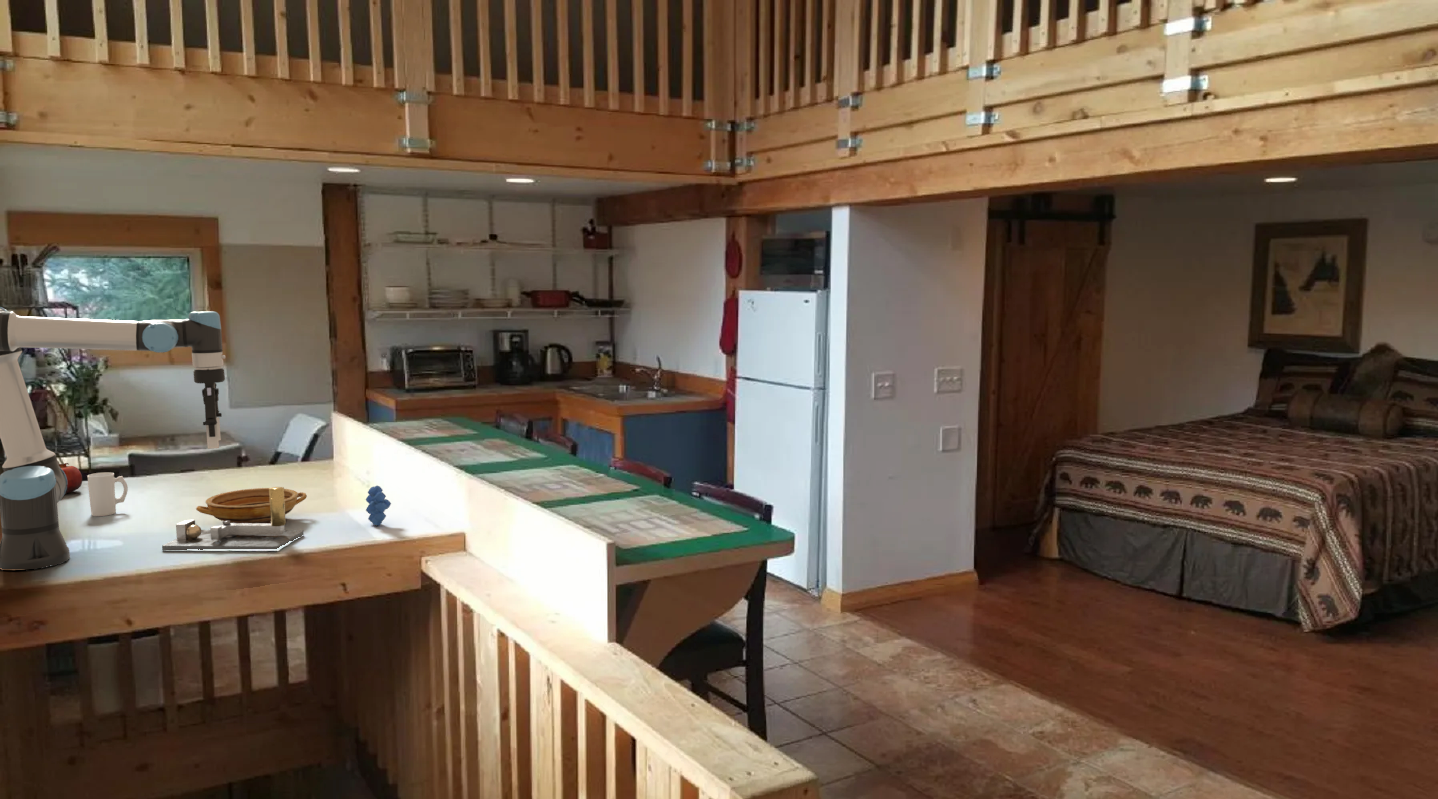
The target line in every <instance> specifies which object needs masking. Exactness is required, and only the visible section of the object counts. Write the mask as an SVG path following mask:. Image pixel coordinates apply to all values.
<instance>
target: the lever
mask: <svg viewBox="0 0 1438 799" xmlns="http://www.w3.org/2000/svg"><path fill="white" fill-rule="evenodd" d="M268 488H269V496H270V514H271V523H230V521H222V524H220V525H213V526H211V527H210V528H209V530H210V531H211V540H219V539H221V538H223V537H225V536H227V535H281V534H283V533H285V525H287V524H286V515H285V501H284V489H285V487H284V486H273V487H268Z"/></svg>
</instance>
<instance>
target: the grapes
mask: <svg viewBox="0 0 1438 799" xmlns="http://www.w3.org/2000/svg"><path fill="white" fill-rule="evenodd" d="M383 491H384V490H383V488H382V487H381V486H379V485H375V486H371V487H370V488H369V489H368V491H367V494H368V495H367V497H366V499H365V501H366V502H367V503H368V506H367V507H366V509H365V511H366V513H367V514H369V516H368V518H367V519H368V521H369V522H370V523H372V524H373V525H374V526H375V525H379V526H381V524H382V523H383V522H384V520H385V519H386V517H387V515H386V513H385V512H386V510H388V509H389V508H390V506H391V505H392V503H391V501H390V500H388V499H387V498H386V497H387V496H386V494H385V493H384V492H383Z"/></svg>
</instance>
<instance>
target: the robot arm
mask: <svg viewBox="0 0 1438 799" xmlns="http://www.w3.org/2000/svg"><path fill="white" fill-rule="evenodd" d="M22 348H28V349H29V348H30V349H32V348H36V349H37V348H39V349H67V350H68V349H73V350H105V351H106V350H107V351H111V350H112V351H141V352H154V353H167V352H169V351H171V350H173V349H174V348H191V358H192V359H191V360H192V362H191V363H192V367H193V368H195V369H193V371H192V372H193V381H194V383H196V384H204V388H202V389H201V395H202V398H203V399H202V402H203V405H204V413H205V414H204V415H205V420H204V421H203V422H202V426H205V430H206V441H207V442H206V444H207V450H210V449H212V450H213V449H220V442H219V441H221V440H222V437H221V424H220V418H221V417H222V412H220V410H219V403H218V401H219V394H220V390H219V387H218V386H217V383H223V382H225V380H226V377H225V375H226V374H225V369H224V367H223V366H224V365H225V364H224V360H225V359H226V355H225V354H224V353H223V351H224V350H223V337H222V325H221V316H220V314H219V313H218V312H217V311H213V310H211V311H210V310H209V311H207V310H206V311H205V310H201V311H191V312H189V313H188V317H187V318H185V319H183V318H182V319H150V320H148V319H147V320H139V321H138V320H122V319H121V320H119V319H116V320H115V319H113V320H112V319H93V318H91V319H90V318H73V317H71V318H69V317H67V318H65V317H50V316H49V317H44V316H26V315H25V316H23V315H22V316H21V315H18V314H17V313H15V312H14V311H8V310H7V309H5V308H4V307H2V306H0V440H1V444H2V448H3V451H4V453H5V456H6V460H5V461H4V463H3V464H2V466H1V467H2V470H3V472H2V473H1V474H0V525H1V534H2V535H1V536H2V537H1V540H0V568H2V569H34V570H37V569H36V568H41V569H43V568H42V567H46V566H50V565H54V566H58V565H61V564H63V563H65V562H64V561H66V562H67V561H69V560H70V559H71V554H70V548H69V547H68V545H67V542H66V540H65V538H64V536H63V534H62V532H61V530H60V525H59V524H60V523H59V513H58V512H59V511H58V504H59V502H60V501H61V500H62V499H63V497H65V495H66V494H65V492H66V490H67V477H66V475H65V473H64V471H63V470H62V469H61V468H60V467H59V464H60V463H59V461H58V458H57V455H56V453H55V452H53V451H51V450H50V449H48V448H47V447H46V444H45V441H44V439H43V438H44V437H43V435H42V432H41V429H40V425H39V422H38V419H37V417H36V413H35V410H34V407H33V404H32V400H31V398H30V395H29V392H28V389H27V386H26V381H25V379H24V377H23V374H22V373H23V372H22V371H21V367H20V364H19V360H18V359H19V357H20V356H21V354H22V353H23V350H22ZM217 387H218V388H217ZM69 558H70V559H69ZM68 559H69V560H68ZM62 562H63V563H62ZM60 563H61V564H60ZM57 564H58V565H57ZM50 567H51V566H50ZM46 568H47V567H46Z"/></svg>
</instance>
